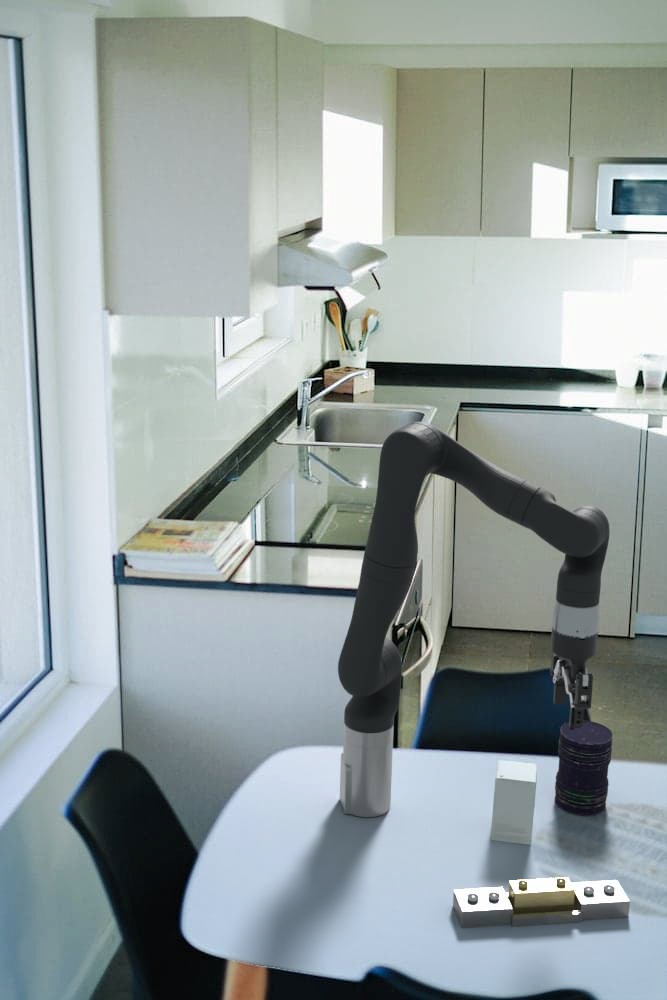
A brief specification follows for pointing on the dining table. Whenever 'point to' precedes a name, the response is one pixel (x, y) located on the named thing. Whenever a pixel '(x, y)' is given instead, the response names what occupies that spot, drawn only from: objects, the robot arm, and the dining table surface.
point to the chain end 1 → (490, 909)
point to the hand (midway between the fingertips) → (567, 715)
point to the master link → (541, 895)
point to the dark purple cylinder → (583, 768)
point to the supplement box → (514, 802)
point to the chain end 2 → (594, 903)
